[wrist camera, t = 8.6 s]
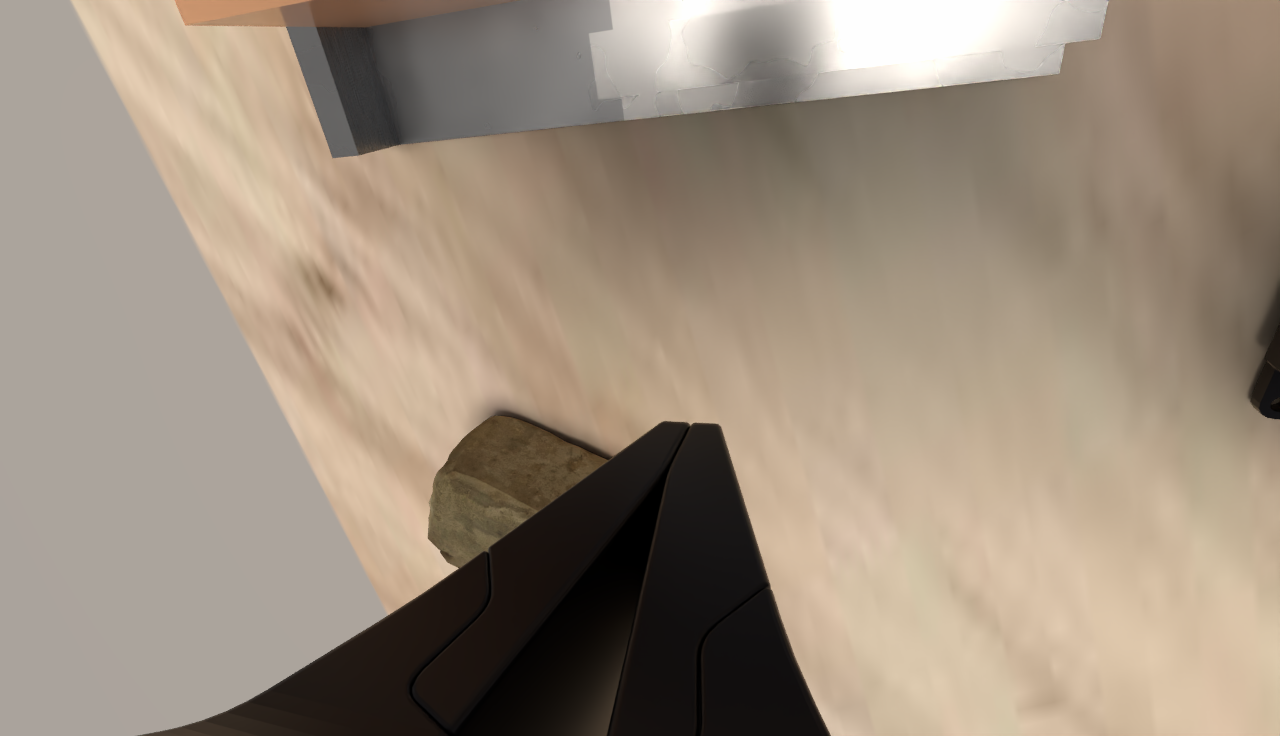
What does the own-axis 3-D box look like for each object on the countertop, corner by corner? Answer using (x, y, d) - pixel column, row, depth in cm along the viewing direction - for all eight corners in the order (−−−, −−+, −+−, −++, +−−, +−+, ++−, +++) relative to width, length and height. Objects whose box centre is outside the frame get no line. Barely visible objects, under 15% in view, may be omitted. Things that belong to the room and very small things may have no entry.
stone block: (491, 395, 25) (426, 465, 21) (730, 503, 25) (712, 598, 21) (470, 482, 29) (411, 559, 24) (683, 581, 28) (658, 676, 24)
